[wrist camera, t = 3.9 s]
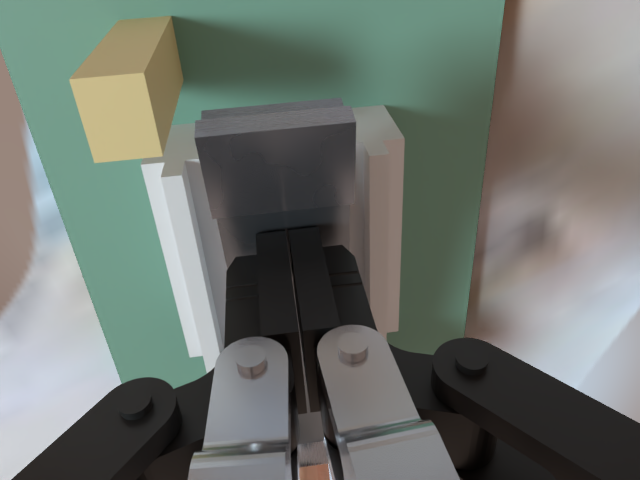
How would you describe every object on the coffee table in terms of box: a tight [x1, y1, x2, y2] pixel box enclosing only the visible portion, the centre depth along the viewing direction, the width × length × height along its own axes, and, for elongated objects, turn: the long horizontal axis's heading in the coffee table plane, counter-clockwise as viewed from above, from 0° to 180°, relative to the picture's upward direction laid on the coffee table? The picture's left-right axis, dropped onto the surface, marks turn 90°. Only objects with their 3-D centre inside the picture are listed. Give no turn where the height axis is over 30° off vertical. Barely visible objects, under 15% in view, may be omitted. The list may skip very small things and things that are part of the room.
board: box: [0, 0, 505, 389], centre depth 19 cm, size 18×16×8 cm
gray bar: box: [194, 98, 356, 468], centre depth 16 cm, size 16×4×2 cm, turn 3°
